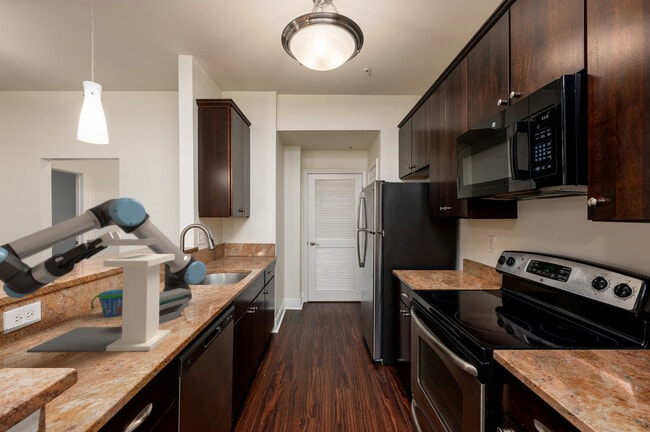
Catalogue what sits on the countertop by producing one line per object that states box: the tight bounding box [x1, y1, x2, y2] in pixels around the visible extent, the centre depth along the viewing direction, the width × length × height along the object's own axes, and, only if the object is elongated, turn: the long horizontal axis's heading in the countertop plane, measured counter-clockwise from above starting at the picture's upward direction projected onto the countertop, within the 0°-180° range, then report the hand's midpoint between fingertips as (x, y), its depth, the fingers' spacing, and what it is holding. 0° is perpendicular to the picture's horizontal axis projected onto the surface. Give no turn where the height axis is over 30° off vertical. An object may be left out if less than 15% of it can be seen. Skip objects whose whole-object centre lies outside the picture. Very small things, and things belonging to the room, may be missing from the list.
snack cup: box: [90, 288, 123, 318], centre depth 130 cm, size 16×10×10 cm
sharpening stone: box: [159, 288, 192, 325], centre depth 122 cm, size 25×8×11 cm, turn 154°
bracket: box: [86, 238, 161, 247], centre depth 104 cm, size 20×10×2 cm, turn 93°
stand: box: [102, 253, 175, 352], centre depth 101 cm, size 14×18×30 cm
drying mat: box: [26, 326, 122, 353], centre depth 103 cm, size 24×20×1 cm
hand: (115, 234), depth 101 cm, fingers closed on bracket, 3 cm apart
